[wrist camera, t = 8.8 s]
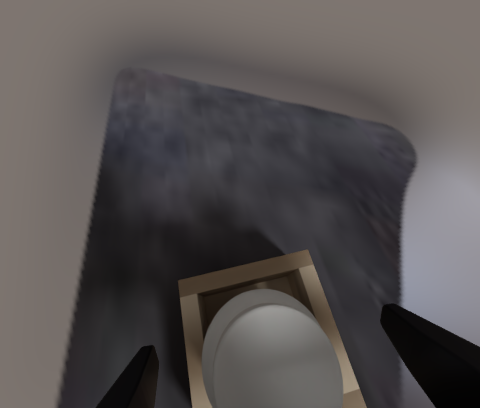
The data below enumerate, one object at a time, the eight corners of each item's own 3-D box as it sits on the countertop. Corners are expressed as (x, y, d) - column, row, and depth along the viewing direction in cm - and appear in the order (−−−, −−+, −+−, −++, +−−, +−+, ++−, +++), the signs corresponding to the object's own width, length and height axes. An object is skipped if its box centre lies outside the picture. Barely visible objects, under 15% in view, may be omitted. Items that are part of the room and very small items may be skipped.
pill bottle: (203, 372, 15) (155, 465, 6) (227, 287, 17) (219, 262, 8) (284, 399, 14) (369, 547, 5) (297, 308, 16) (372, 305, 8)
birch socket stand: (335, 388, 15) (368, 413, 11) (208, 429, 14) (199, 471, 10) (293, 261, 18) (307, 249, 15) (189, 286, 17) (178, 280, 14)
